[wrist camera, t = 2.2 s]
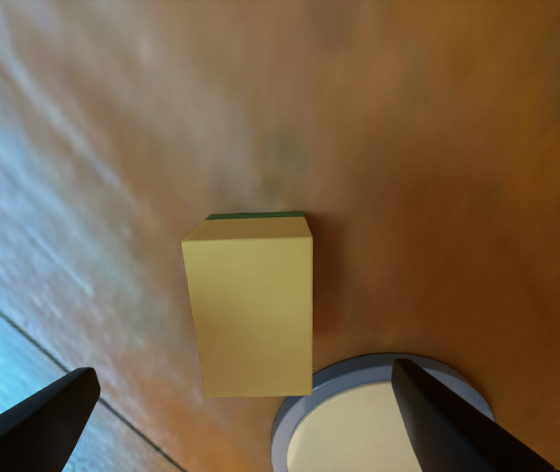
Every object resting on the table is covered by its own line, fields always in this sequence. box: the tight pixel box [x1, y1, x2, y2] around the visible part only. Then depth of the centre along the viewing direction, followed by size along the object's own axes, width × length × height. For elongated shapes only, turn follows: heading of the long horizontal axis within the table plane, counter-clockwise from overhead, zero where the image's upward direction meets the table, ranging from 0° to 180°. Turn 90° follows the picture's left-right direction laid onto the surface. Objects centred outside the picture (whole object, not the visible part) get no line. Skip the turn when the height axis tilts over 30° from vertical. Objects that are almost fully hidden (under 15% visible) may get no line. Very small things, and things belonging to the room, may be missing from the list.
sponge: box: [181, 212, 313, 398], centre depth 12 cm, size 7×4×4 cm, turn 2°
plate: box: [270, 353, 496, 472], centre depth 17 cm, size 14×14×1 cm
